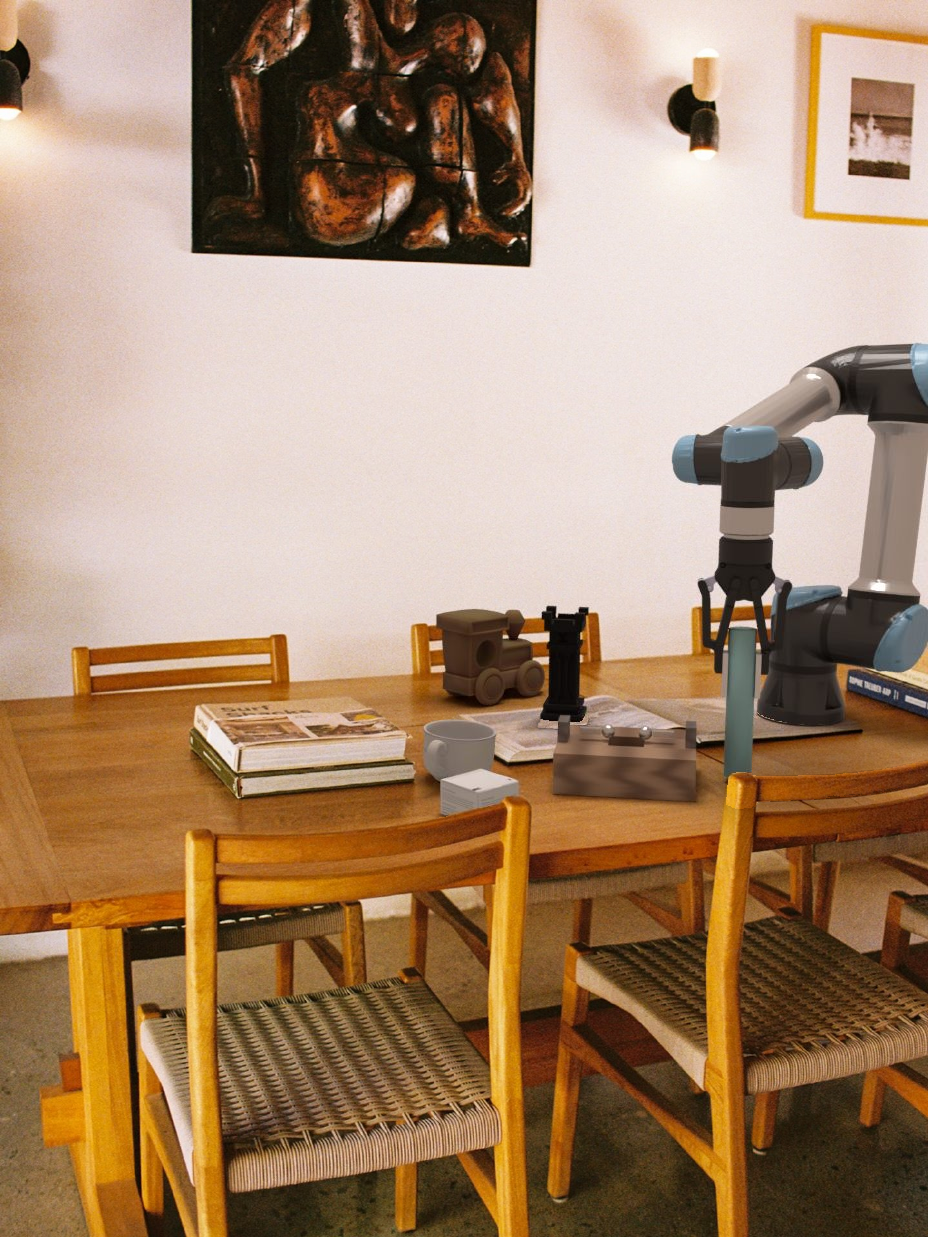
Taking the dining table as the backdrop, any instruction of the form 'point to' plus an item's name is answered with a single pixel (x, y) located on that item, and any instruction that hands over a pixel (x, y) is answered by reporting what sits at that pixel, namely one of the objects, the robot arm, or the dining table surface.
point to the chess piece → (564, 664)
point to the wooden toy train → (487, 655)
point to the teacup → (457, 747)
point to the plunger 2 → (654, 733)
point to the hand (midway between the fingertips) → (740, 695)
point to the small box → (475, 791)
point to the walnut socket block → (625, 763)
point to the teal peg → (740, 700)
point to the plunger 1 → (599, 730)
